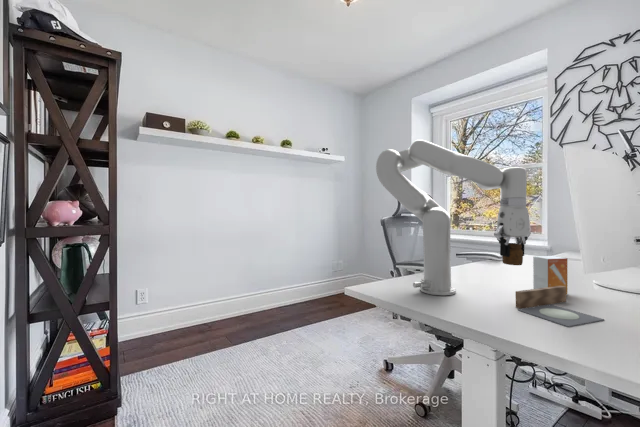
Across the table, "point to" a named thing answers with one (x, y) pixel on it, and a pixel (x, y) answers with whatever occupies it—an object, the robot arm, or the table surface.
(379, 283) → the table surface
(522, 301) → the low wall
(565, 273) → the small box
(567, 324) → the mat
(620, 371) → the table surface
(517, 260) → the utensil holder
